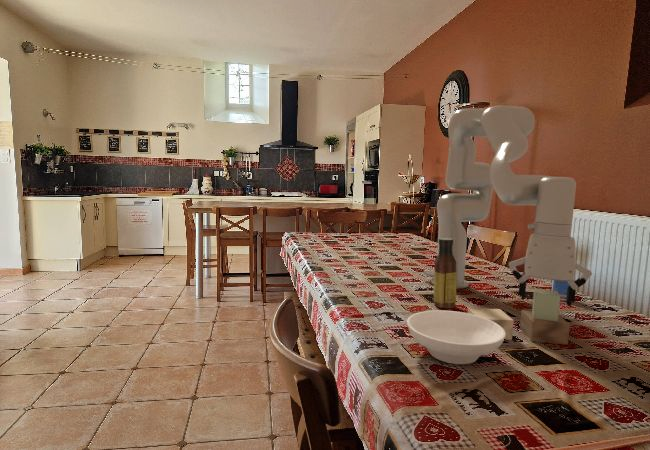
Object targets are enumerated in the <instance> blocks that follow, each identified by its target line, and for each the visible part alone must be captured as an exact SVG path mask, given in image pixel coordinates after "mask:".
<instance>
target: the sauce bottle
mask: <svg viewBox="0 0 650 450" xmlns="http://www.w3.org/2000/svg"><path fill="white" fill-rule="evenodd" d="M452 247H453V239H452V238H439V254H438V256H437V255H436V258H435V259H434V269H433V270H434V284H433V305H434V306H435V307H436V308H440V309H447V310H449V309H453V308H455V307H456V302H457V289H456V275H457V271H456V260H455V258H454V256H453V254H452V253H453V252H452Z"/></svg>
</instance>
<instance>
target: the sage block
mask: <svg viewBox="0 0 650 450" xmlns="http://www.w3.org/2000/svg"><path fill="white" fill-rule="evenodd" d="M560 302H561V300H560V295H559V293H558V291H553V290H552V289H542V288H536V287H535V288H533V298H532V309H531V311H532V314H533V318H535V319H542V320H549V321H557V322H558V315H559V312H560V304H561V303H560Z"/></svg>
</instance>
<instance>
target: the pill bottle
mask: <svg viewBox="0 0 650 450" xmlns="http://www.w3.org/2000/svg"><path fill="white" fill-rule="evenodd" d="M551 281H552V283H551V290H553V291H558V293H559V295H560V301H561V302H562V301H564V302H566V298H567V289H568V287H569V284H568V282H567V281H556V280H551Z"/></svg>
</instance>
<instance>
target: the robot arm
mask: <svg viewBox="0 0 650 450" xmlns="http://www.w3.org/2000/svg"><path fill="white" fill-rule="evenodd" d="M535 123H536V119H535V115H534V113H533V112H532V110H530V109H529V108H528V107H525V106H515V105H501V104H500V105H499V104H498V105H493V106H490V107H488V108H477V107H474V108H460V109H458V110H456V111H454V113H453V114H452V115H451V116H450V119H449V123H448V126H447V127H448V128H447V132H448V141H449V150H448V156H447V164H446V172H445V184H446V187H447V188H448V189H450V190H453V191H454V190H455V191H472V193H447V194H443V195H442V196H440V197H439V198H438V201H437V203H436V212H437V222H438V224H437V225H438V229H437V230H438V231H437V234H438V235H437V251H436V257H437V256H438V254H439V238H452V239H453V247H452V252H453V253H452V254H453V256H454V258H455V260H456V271H457V275H456V290H459V289H465V288H468V287H469V286H470V285H469V281H468V280H465V274H466V273H465V272H466V257H467V256H466V255H467V242H468V241H467V240H468V234H467V231H466V229H465V227H464V226H463V224H462V223H464V222H465V223H466V222H482V221H484V220H486V219H487V217H488V216H489V213H490V210H491V205H492V198H493V193H494V192H495V193H496V195H497V197H498V198H499V200H500V201H501V202H503V203H504V204H506V205H510V206H531V207H532V206H533V207H536V209H535V218H534V222H532V223H527V229H528V230H531V231H532V232H533V233H531V234H530V236H529V239H528V243H527V247H526V253H525V256H523V257H521V258H518V259H515V260H512V261H509V262H508V265H507V266H508V267H509V269H510V272H511V274H512V276H513V277H514V278H515V279H516V280H517V281H518V283H519V285H518V295H519V296H521V300H523V301H525V299H526V290H527V282H526V281H527V280H528V279H530V278H533V279H541V280H548V281H549V280H550V281H552V280H556V281H567V282H568V284H569V287H568V289H567V298H566V301H565V303H566V306H568V307H572V303H575V300H576V292H577V290H578V289H579V288H580V287H582V286H584V285H585V284H586V283H587V281H588V280H589V279H590V277H592V276H593V273H592V270H590V269H588V268H586V267H584V266H583V265H581V264H579V263H578V262H576V240H575V238H574V237H572V227H573V219H574V209H575V208H574V207H575V199H576V189H577V182H576V180H575V178H573V177H567V176H550V175H542V174H541V175H539V174H538V175H537V174H515V173H514V172H513V170H512V168H511V166H510V163H512V162H515V161H516V160H518V159H520V158H522V157H523V156H524V155H525V154H526V152H527V151H528V149H529V146H530V145H529V140H528V139H527V137H528V135H530V134H531V133H532V132H533V130H534V128H535ZM473 137H474V138H475V137H477V138H487V140H488V142H489V144H490V147H491V148H492V150H493V152H494V154H495V155H494V157H493V159H492V160H491V163H487V162H480V161H478V162H477V161H476V155H477V146H476V143H475V142H474V140H473ZM521 265H524V271H523V273H520V272H519V271H518V269H517V266H521ZM434 270H435V269H433V270H429V269H424V270H423V275H424V276H426V277H432V278H431V279H430V283H431V284H432V285H434ZM575 270H576V271H578V272H580V273H582V275H581V276H580V277H578V279H576V280H574V277H575Z"/></svg>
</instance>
